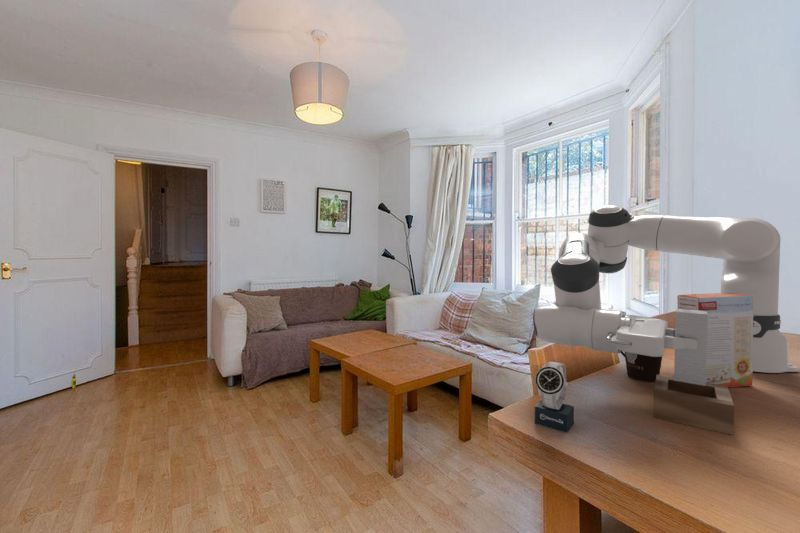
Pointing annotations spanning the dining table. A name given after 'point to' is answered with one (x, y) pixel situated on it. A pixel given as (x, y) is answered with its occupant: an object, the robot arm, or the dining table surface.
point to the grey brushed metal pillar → (688, 360)
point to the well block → (694, 404)
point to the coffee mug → (642, 366)
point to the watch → (553, 398)
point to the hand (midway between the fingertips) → (696, 340)
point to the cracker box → (726, 336)
